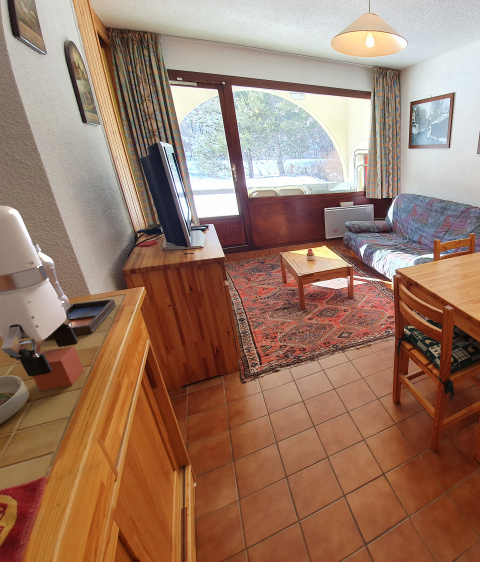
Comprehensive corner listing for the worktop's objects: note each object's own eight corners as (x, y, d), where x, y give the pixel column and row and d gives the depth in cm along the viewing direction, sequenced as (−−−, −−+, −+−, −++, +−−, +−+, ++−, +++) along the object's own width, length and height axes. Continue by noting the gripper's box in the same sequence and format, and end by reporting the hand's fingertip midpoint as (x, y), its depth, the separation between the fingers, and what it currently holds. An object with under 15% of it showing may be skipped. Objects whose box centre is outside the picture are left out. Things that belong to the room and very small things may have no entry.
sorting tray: (41, 340, 75) (37, 332, 74) (74, 311, 89) (71, 303, 88) (92, 333, 79) (89, 325, 78) (116, 306, 92) (113, 298, 91)
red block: (40, 391, 60) (27, 366, 58) (54, 374, 64) (42, 350, 62) (72, 385, 61) (60, 360, 59) (84, 369, 66) (73, 346, 63)
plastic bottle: (34, 316, 86) (2, 247, 78) (63, 306, 92) (36, 240, 84) (49, 320, 84) (17, 250, 76) (78, 309, 90) (51, 243, 82)
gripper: (20, 265, 60) (55, 339, 67) (-56, 302, 45) (-1, 393, 52) (68, 260, 63) (98, 332, 69) (10, 295, 48) (55, 382, 55)
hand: (55, 358), depth 61 cm, fingers open, 9 cm apart
